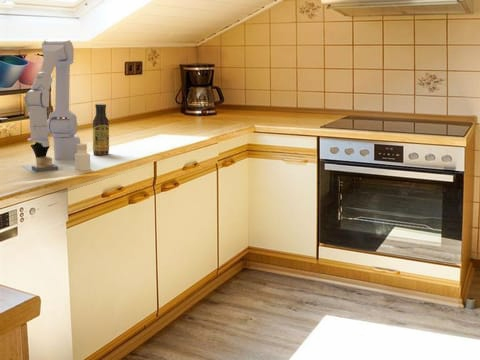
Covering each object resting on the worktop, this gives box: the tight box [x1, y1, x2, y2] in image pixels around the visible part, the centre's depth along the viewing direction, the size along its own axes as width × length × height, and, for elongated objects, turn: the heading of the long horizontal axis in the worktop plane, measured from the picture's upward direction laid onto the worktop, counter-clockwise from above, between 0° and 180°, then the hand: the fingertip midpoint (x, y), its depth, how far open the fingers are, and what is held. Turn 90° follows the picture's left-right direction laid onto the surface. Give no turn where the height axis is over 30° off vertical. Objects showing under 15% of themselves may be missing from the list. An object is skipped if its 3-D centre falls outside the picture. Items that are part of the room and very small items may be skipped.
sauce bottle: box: [92, 103, 110, 156], centre depth 245 cm, size 7×6×20 cm
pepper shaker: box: [74, 143, 92, 172], centre depth 213 cm, size 4×4×10 cm
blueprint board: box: [21, 163, 63, 174], centre depth 216 cm, size 10×15×2 cm, turn 34°
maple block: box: [35, 155, 53, 168], centre depth 214 cm, size 4×4×4 cm
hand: (41, 164), depth 216 cm, fingers closed
